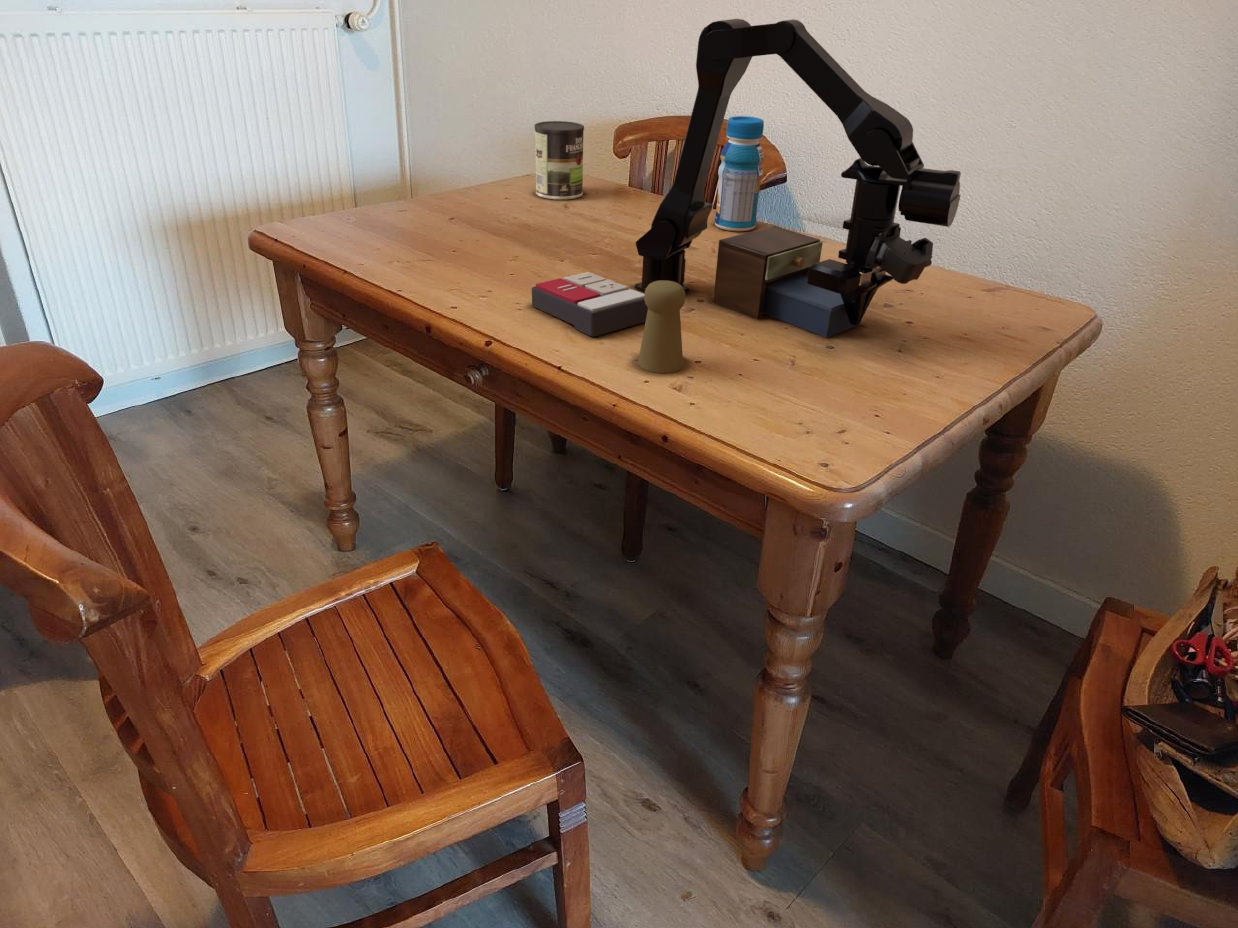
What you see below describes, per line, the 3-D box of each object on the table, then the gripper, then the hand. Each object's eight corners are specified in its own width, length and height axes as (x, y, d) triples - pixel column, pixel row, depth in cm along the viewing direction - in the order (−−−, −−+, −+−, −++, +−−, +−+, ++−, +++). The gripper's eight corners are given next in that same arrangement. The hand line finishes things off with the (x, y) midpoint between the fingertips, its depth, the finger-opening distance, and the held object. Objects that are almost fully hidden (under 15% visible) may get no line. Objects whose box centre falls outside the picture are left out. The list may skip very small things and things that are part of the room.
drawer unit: (757, 319, 130) (765, 255, 125) (712, 302, 136) (718, 240, 131) (810, 300, 138) (820, 239, 133) (766, 285, 143) (774, 225, 138)
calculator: (588, 269, 136) (652, 292, 126) (588, 295, 138) (651, 320, 128) (529, 282, 130) (592, 308, 119) (531, 310, 132) (592, 337, 122)
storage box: (826, 338, 125) (831, 308, 122) (760, 313, 132) (763, 283, 130) (860, 324, 130) (865, 295, 127) (794, 301, 137) (798, 272, 135)
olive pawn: (635, 354, 118) (639, 275, 112) (679, 353, 118) (685, 275, 113) (640, 373, 113) (644, 291, 107) (686, 373, 113) (693, 292, 107)
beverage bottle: (729, 234, 167) (741, 124, 157) (705, 223, 173) (714, 116, 163) (765, 229, 171) (778, 122, 160) (739, 218, 177) (750, 114, 166)
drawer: (773, 282, 126) (776, 259, 124) (722, 264, 132) (724, 242, 130) (825, 266, 133) (829, 244, 131) (775, 249, 139) (777, 228, 138)
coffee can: (592, 193, 190) (593, 125, 183) (565, 202, 183) (566, 132, 175) (553, 185, 194) (552, 118, 187) (525, 194, 187) (524, 125, 179)
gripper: (885, 240, 107) (864, 358, 115) (963, 216, 118) (939, 325, 126) (811, 221, 114) (797, 333, 122) (891, 200, 125) (873, 304, 133)
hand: (854, 324), depth 125 cm, fingers closed, pressing on storage box
